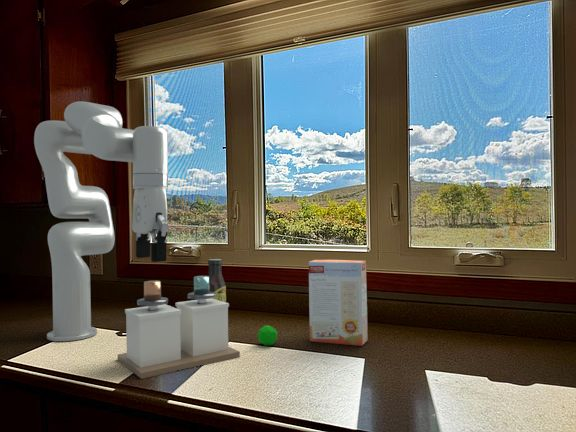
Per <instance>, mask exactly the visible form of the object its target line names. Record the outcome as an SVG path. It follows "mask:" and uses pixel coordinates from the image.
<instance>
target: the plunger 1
mask: <svg viewBox="0 0 576 432" xmlns="http://www.w3.org/2000/svg"><path fill="white" fill-rule="evenodd" d="M161 282H162V281H160V280H147V281H143V298H139V299H137V300H136V304H137V306H139V307H146V306H148V311H156V310H158V305H163V304H166V305H168V303H169V298H168V297H163V296H162V283H161Z"/></svg>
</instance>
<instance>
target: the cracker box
mask: <svg viewBox="0 0 576 432" xmlns="http://www.w3.org/2000/svg"><path fill="white" fill-rule="evenodd" d="M367 287H368V286H367V262H366V260H353V259H349V260H348V259H347V260H346V259H313V260H310V261H308V298H309V299H308V308H309V310H308V312H309V313H308V315H309V318H308V319H309V341H310V342H313V343H327V344H336V345H337V344H338V345H346V346H357V347H363V346H364V344H366V343H367V342H368V339H369V337H368V304H367V302H368V296H367V293H368V292H367Z"/></svg>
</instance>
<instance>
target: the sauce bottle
mask: <svg viewBox="0 0 576 432" xmlns="http://www.w3.org/2000/svg"><path fill="white" fill-rule="evenodd" d="M207 263H208V276H209V291H211V292H215V293H216V297H214V298H212V299H216V300H219V301H222V302H226V303H227V286H226V283H225V279H224V276H223V274H222V265H223V260H222V259H220V258H215V259H214V258H213V259H210V258H209V259H208V260H207Z"/></svg>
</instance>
